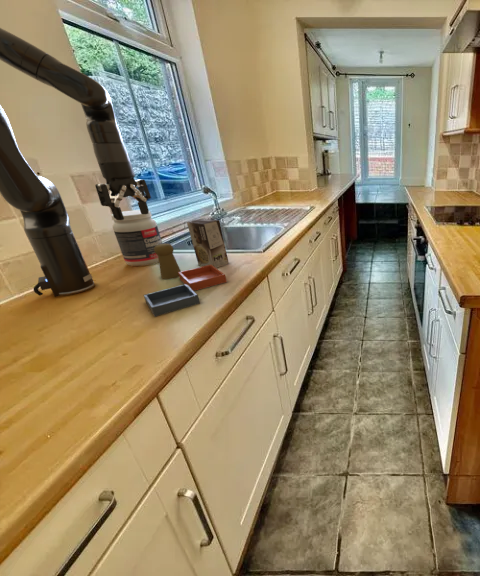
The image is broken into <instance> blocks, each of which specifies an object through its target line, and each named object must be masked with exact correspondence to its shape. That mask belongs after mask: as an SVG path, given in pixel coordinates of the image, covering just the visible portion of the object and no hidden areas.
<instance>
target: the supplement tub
mask: <svg viewBox="0 0 480 576" xmlns="http://www.w3.org/2000/svg"><path fill="white" fill-rule="evenodd" d="M122 214H123V217H124V220H116V218H114V216H113V213H111V215H110V216H111V221H113V223H112V231H113V232H114V235H115V238H116V241H117V244H118V247H119V249H120V252H121V254H122V257H123V260H124V263H125V264H126V265H129V266H130V267H144V266H151V265H155V264H159V259H158V255H157V254H156V253H155V251H154V247H155V246H156V245H159V244H163V241H162V238H161V234H160V230H159V228H158V224H157V222H156V220H155V219H153V218H152V217H153V214H152V212H151V210H149V212H148V214H141V212H140V209H135V210H133V209H132V210H125V211H124V210H123V211H122Z"/></svg>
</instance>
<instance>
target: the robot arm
mask: <svg viewBox="0 0 480 576" xmlns="http://www.w3.org/2000/svg"><path fill="white" fill-rule="evenodd" d="M0 61H1V62H2V63H5V64H6V65H8V66H10V67H12V68H13V69H15V70H17V71H19V72H21V73H23V74H24V75H26V76H29V77H30V78H32V79H33V80H36V81H38V82H40V83H42V84H43V85H46V86H49V87H51V88H53V89H55V90H57V91H59V92H60V93H62V94H64V95H65V96H67V97H68V98H70V99H72V100H74V101H76V102H78V103H80V105H81V108H82V111H83V114H84V116H85V119H86V123H85V125H86V126H85V127H86V130H87V133H88V135H89V139H90V142H91V144H92V149H93V153H94V155H95V158H96V162H97V164H98V167H99V170H100V173H101V176H102V178H103V179H104V180H105V182H106V183H96V184H95V190H96V193H97V196H98V198H99V202H100V205H101V206H102V207H108V208H110V212H111V214H113V216H114V218H116V220H124V217H123V214H122V212H123V211H122V209H121V206H120V204H121V201H122V200H123V199H124V198H128V197H131V198H134V199H135V200H136V201H137V206H138V208H139V209H138V210H140V212H141V214H148V212H149V211H150V210H149V207H148V204H147V201H148V200H151V199H152V196H151V193H150V190H149V187H148V185H147V181H146V179H139V178H138V179H137V178H136V179H135V176H136V174H135V170H134V167H133V164H132V162H131V159H130V155H129V152H128V149H127V148H126V145H125V143H124V140H123V136H122V134H121V130H120V128H119V126H118V123H117V119H116V114H115V109H114V105H113V101H112V99H111V96H110V94H109V92H108V90H107V89H106V88H105V86H104V85H102V84H101V83H100V82H98V81H96V80H95V79H93V78H92V77H90V76H88V75H86V74H84V73H83V72H80V71H79V70H77V69H75V68H73V67H71V66H69V65H67V64H65V63H63V62H61V61H60V60H58V59H57V58H56V57H55V56H53V55H51V54H49V53H48V52H46V51H44V50H42V49H41V48H39V47H37V46H35V45H33V44H32V43H30V42H28V41H26V40H25V39H23V38H21V37H19V36H18V35H15V34H14V33H11V32H10V31H8V30H6V29H4V28H2V27H0ZM16 139H17V138H16V137H15V133H14V131H13V128H12V125H11V122H10V120H9V118H8V116H7V114H6V112H5V111H4V108H2V105H0V195H1V197H2V198H3V200H5V201H6V203H7V204H9V205H10V206H12V207H13V208H15V209H16V210H19V212H20V214H21V216H22V219H23V231H24V234H25V235H26V237H27V239H28V241H29V244H30V247H31V248H32V250H33V252H34V254H35V257H36V258H37V261H38V262H39V264H40V270H41V272H42V273H43V276H39V277H38V279H37V284H36V285H34V287H33V292H34V294H36V295H37V296H40V297H41V296H43V295H44V293H43V292H42V291H46V290H51V292H52V294H53V297H55V298H57V297H62V296H63V297H66V296H72V295H77V294H80V293H84V292H87V291H90V290H92V289H93V288H95V287H96V283H95V281H94V279H93V275H92V273H91V272H90V270H89V268H88V264H87V263H86V261H85V258H84V256H83V253H82V250H81V249H80V245H79V244H78V241H77V239H76V236H75V234H74V232H73V229H72V226H71V221H70V217H69V214H68V211H67V208H66V206H65V203H64V201H63V198H62V196H61V194H60V191H59V189H58V188H57V186H56V185H55V184H54V183H53V182H52V181H51V180H50V179H48V178H46V177H44V176H42V175H39V174H36V173H35V171H34V169H32V167H31V166H30V165H29V163H28V161H27V160H26V159H25V157H24V156H23V153H22V152H21V150H20V148H19V146H18V143H17V140H16ZM39 289H40V290H41V291H40V290H39Z"/></svg>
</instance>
